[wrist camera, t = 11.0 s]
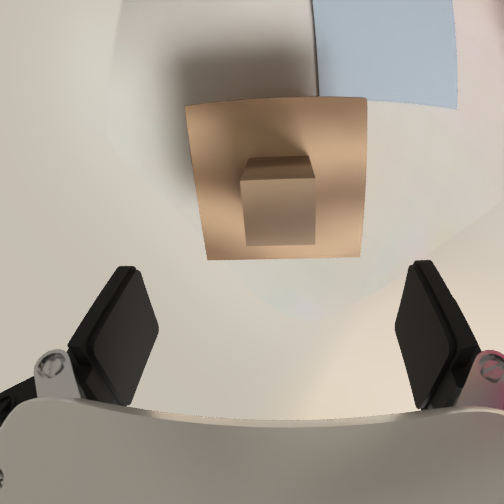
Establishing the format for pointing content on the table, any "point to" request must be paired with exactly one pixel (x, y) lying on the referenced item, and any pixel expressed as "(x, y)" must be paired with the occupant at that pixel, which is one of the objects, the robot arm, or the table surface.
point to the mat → (387, 50)
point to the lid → (280, 176)
